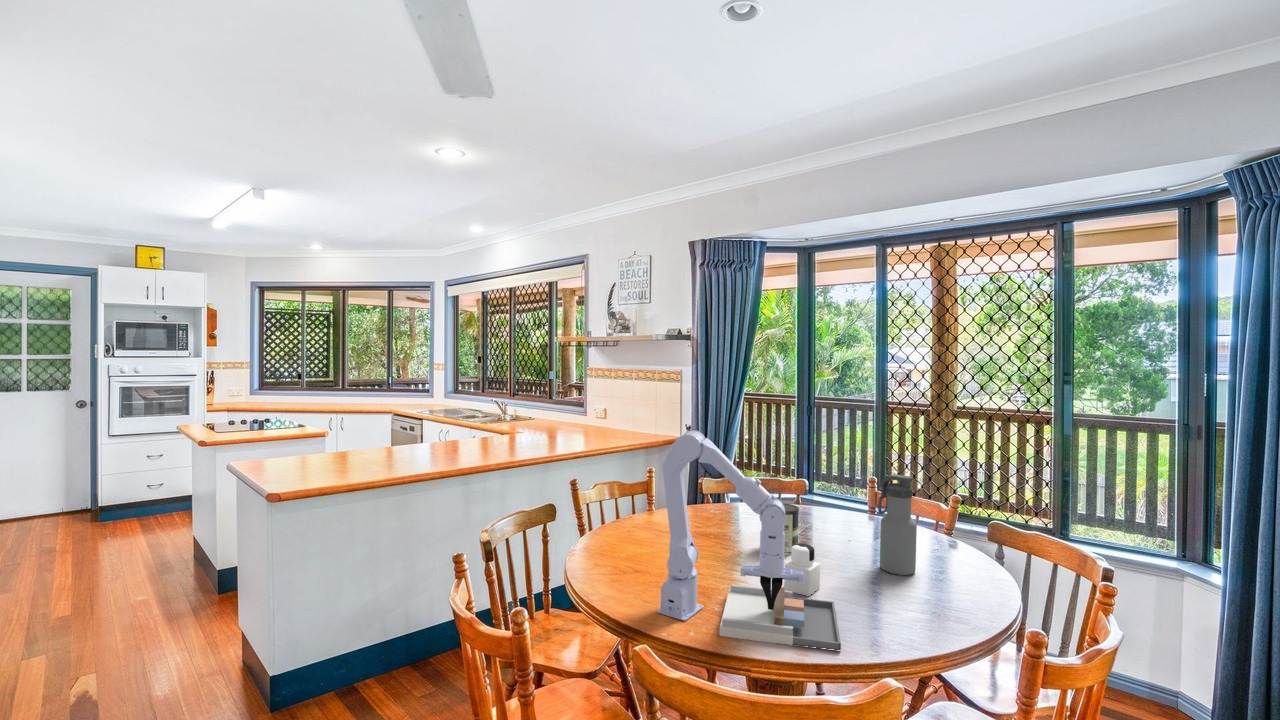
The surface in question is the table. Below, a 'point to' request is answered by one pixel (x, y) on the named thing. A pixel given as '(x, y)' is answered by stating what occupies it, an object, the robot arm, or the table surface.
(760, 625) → the white rimmed panel
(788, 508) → the coffee can
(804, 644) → the box
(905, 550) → the water bottle
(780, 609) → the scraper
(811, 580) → the medicine bottle
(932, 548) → the table surface
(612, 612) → the table surface
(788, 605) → the tile
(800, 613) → the tile
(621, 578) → the table surface
